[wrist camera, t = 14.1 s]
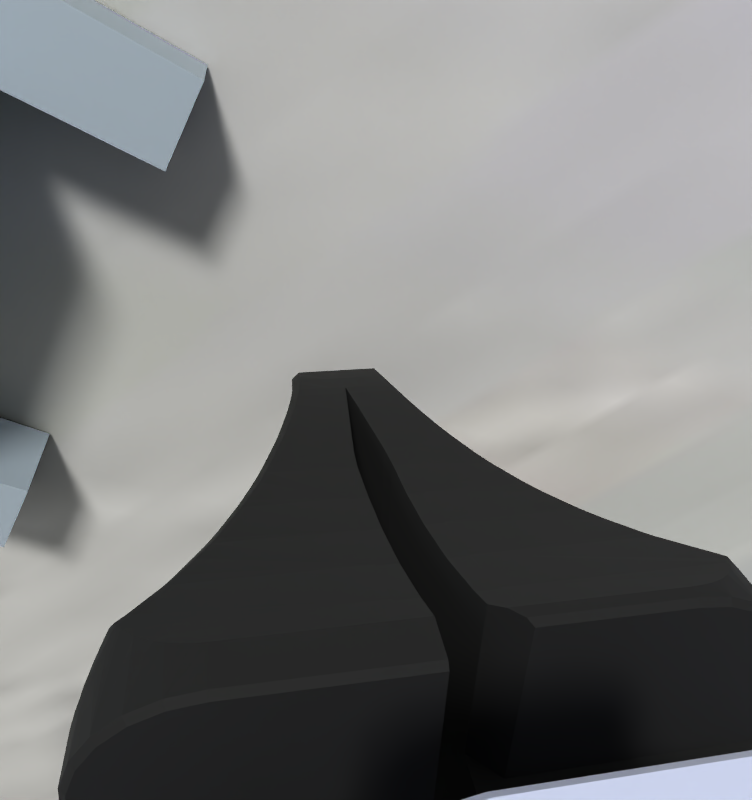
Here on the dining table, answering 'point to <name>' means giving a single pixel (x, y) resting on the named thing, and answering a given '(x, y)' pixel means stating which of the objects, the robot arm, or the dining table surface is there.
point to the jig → (88, 126)
